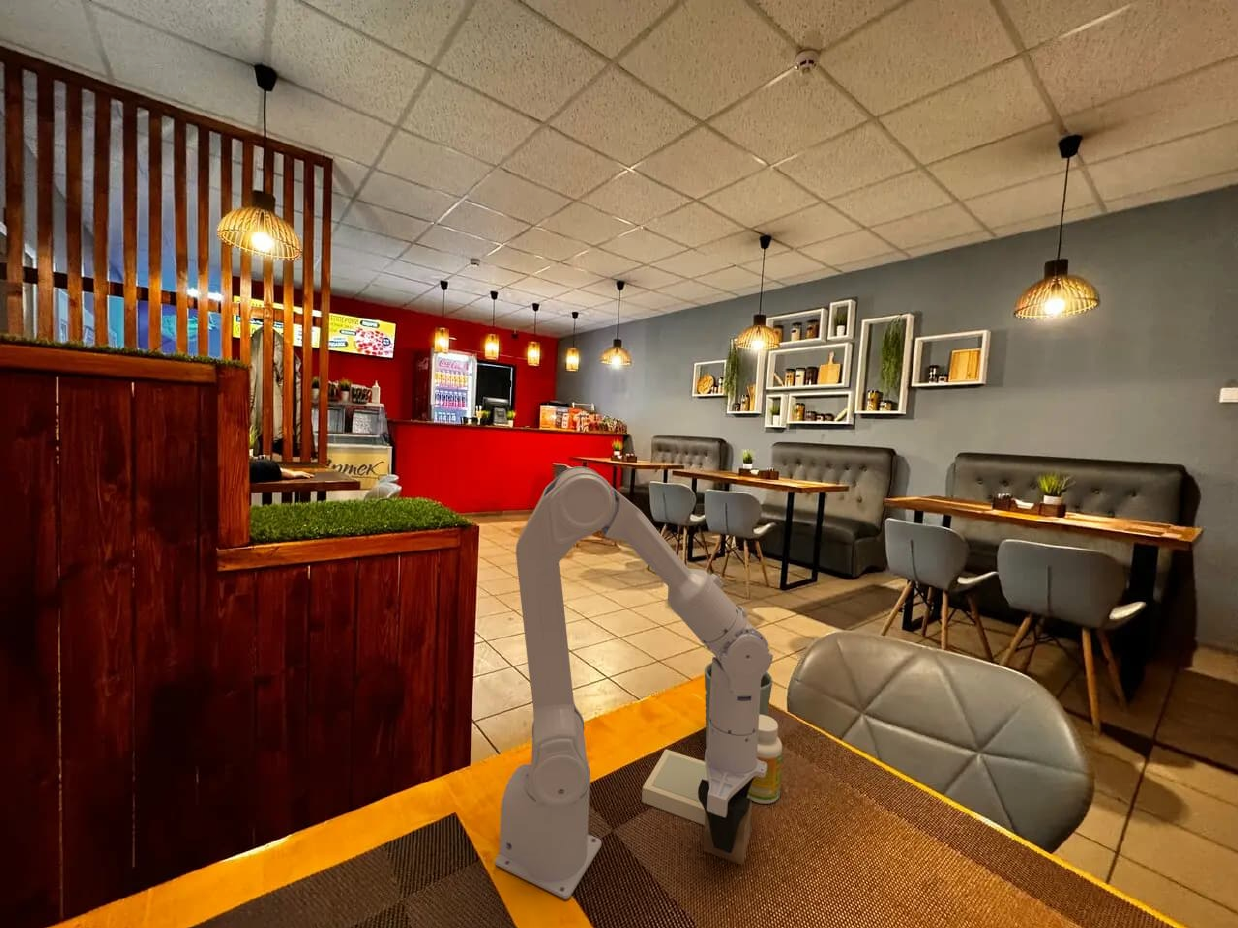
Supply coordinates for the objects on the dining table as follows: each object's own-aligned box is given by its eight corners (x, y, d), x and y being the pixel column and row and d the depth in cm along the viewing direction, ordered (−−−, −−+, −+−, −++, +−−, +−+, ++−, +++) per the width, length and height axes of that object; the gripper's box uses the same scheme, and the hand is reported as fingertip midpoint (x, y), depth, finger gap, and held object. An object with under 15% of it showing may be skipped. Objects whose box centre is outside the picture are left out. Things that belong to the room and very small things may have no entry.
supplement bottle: (782, 808, 64) (786, 736, 64) (739, 800, 66) (743, 730, 65) (777, 780, 70) (781, 714, 69) (738, 774, 71) (741, 708, 70)
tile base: (642, 801, 65) (642, 786, 65) (664, 762, 73) (665, 748, 73) (709, 826, 61) (710, 810, 61) (725, 781, 69) (726, 767, 69)
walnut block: (703, 850, 57) (705, 813, 57) (713, 823, 61) (714, 788, 61) (742, 865, 56) (744, 827, 55) (749, 836, 60) (751, 801, 59)
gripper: (758, 768, 49) (751, 896, 50) (776, 700, 63) (771, 803, 63) (690, 747, 52) (684, 869, 53) (721, 687, 66) (716, 785, 66)
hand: (727, 832), depth 58 cm, fingers closed on walnut block, 4 cm apart
